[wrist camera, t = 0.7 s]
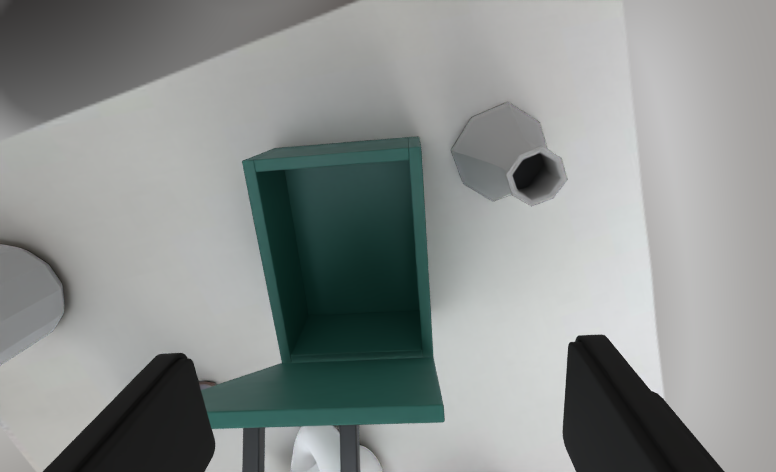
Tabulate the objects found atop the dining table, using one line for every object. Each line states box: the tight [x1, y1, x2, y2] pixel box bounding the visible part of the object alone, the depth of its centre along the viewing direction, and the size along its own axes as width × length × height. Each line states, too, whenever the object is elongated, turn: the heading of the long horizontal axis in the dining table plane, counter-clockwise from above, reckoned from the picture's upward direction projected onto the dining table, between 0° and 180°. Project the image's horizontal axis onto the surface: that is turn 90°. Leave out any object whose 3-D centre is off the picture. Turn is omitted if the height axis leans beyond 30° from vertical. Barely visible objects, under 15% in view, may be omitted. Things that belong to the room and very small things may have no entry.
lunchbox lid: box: [201, 357, 445, 472], centre depth 22 cm, size 16×12×5 cm
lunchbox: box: [242, 136, 433, 363], centre depth 32 cm, size 16×12×7 cm
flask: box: [451, 102, 568, 207], centre depth 27 cm, size 7×7×10 cm
